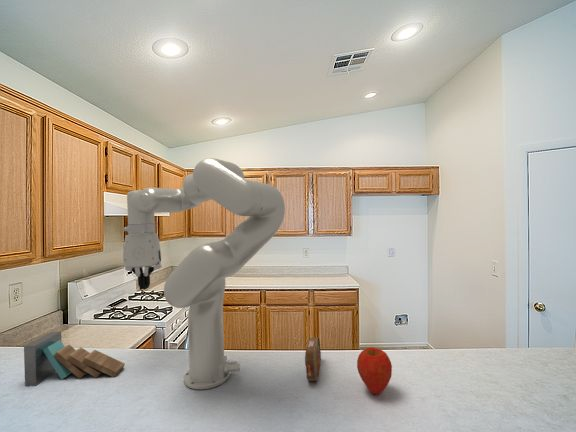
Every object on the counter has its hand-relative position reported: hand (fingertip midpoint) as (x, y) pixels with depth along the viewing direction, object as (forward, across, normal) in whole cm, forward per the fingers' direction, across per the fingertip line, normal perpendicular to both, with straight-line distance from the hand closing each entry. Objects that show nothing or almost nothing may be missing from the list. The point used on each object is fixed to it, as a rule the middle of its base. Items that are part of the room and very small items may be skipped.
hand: (144, 288), depth 94 cm
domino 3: (+23, -11, -5) cm, 26 cm away
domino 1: (+23, -20, -5) cm, 31 cm away
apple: (+25, +65, -22) cm, 73 cm away
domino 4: (+23, -6, -5) cm, 24 cm away
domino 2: (+23, -15, -5) cm, 28 cm away
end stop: (+23, -27, -5) cm, 36 cm away
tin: (+24, +51, -11) cm, 57 cm away
